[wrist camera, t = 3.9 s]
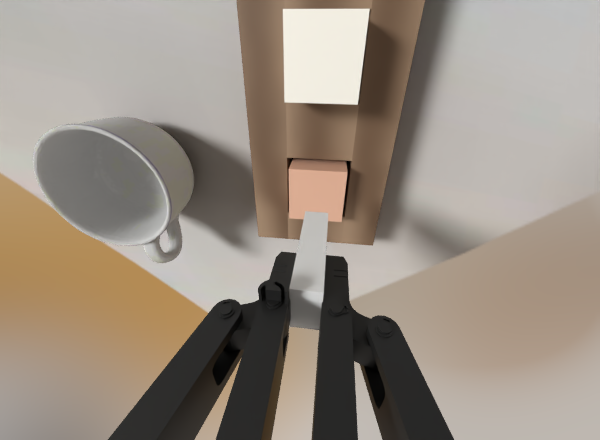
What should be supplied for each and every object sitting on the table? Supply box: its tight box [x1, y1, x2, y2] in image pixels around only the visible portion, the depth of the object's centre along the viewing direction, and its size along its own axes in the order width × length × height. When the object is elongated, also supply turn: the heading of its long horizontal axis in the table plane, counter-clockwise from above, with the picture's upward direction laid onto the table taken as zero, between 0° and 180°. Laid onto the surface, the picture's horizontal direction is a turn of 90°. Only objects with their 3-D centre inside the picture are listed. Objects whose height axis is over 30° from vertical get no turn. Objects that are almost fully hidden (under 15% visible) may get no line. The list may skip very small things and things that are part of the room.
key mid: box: [283, 9, 370, 105], centre depth 17 cm, size 5×5×4 cm
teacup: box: [33, 117, 194, 263], centre depth 24 cm, size 14×11×8 cm
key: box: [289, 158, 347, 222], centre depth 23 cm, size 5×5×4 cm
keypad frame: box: [237, 0, 425, 245], centre depth 19 cm, size 12×32×3 cm, turn 179°
